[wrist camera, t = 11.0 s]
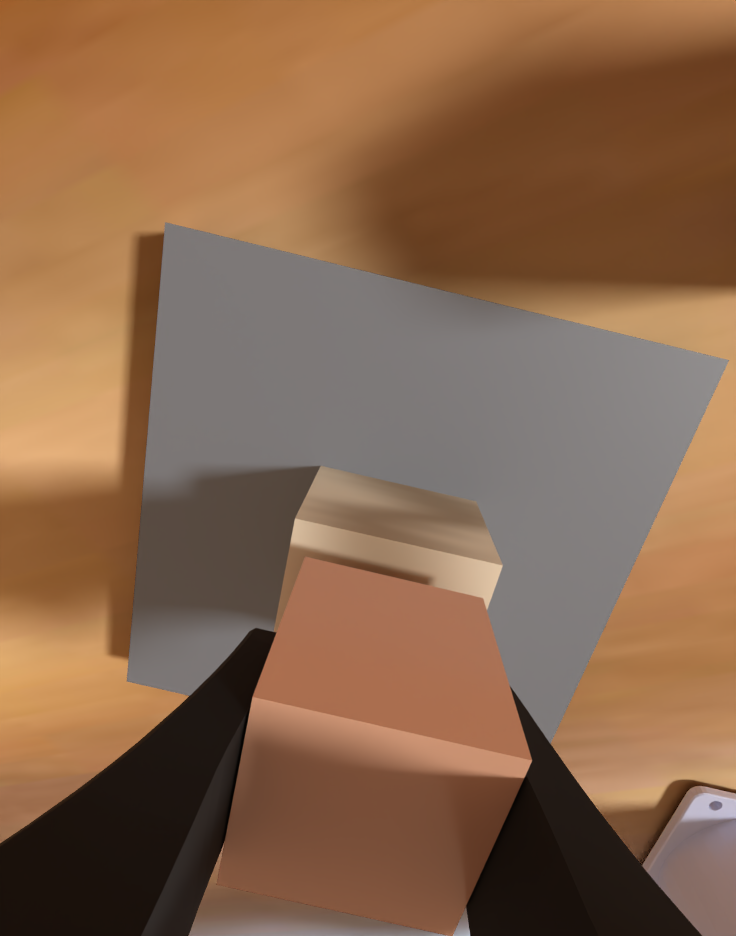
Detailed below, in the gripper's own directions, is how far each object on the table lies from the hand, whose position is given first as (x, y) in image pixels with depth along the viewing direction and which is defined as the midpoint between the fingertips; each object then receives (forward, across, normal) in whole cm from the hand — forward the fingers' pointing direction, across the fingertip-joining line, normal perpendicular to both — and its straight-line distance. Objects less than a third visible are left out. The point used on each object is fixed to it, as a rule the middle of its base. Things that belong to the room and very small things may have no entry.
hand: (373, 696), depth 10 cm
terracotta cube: (+2, 0, 0) cm, 2 cm away
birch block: (+6, 0, 0) cm, 7 cm away
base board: (+8, 0, 0) cm, 8 cm away
